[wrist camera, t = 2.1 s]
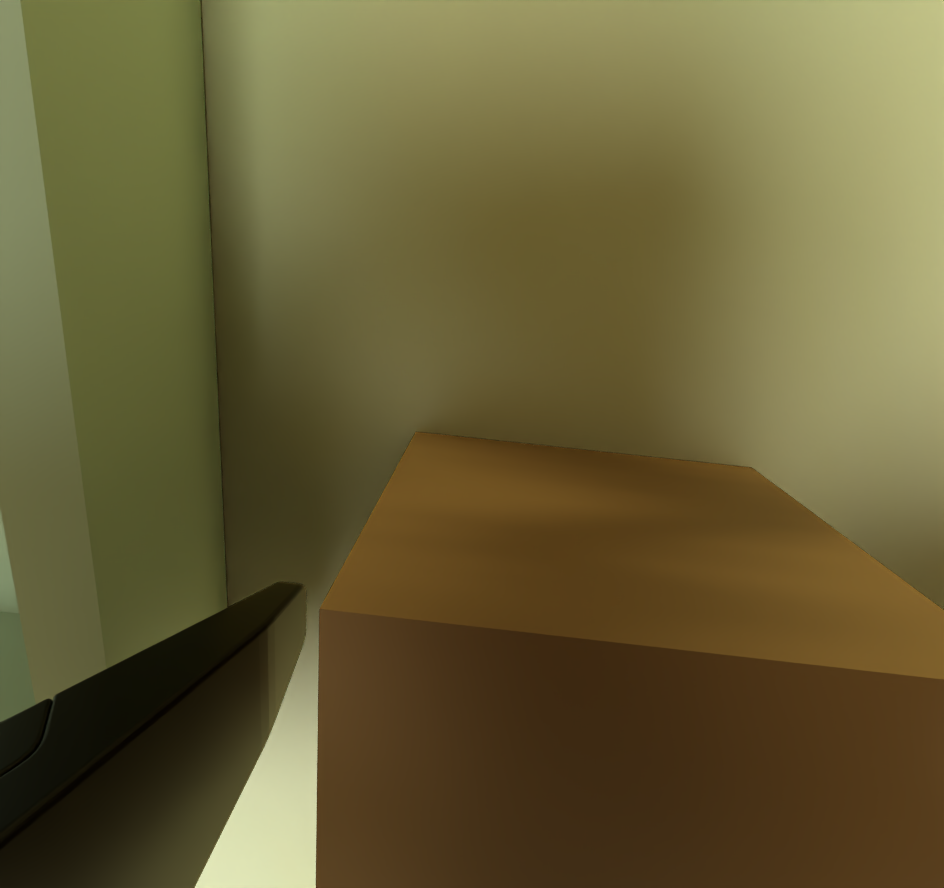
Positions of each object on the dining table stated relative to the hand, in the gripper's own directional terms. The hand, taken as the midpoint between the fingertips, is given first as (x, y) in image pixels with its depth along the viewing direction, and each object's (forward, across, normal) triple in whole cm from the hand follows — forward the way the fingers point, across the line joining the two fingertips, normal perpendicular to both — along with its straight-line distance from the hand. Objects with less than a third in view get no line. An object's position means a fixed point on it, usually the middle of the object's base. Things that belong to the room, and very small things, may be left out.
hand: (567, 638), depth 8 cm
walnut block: (+1, 0, 0) cm, 1 cm away
